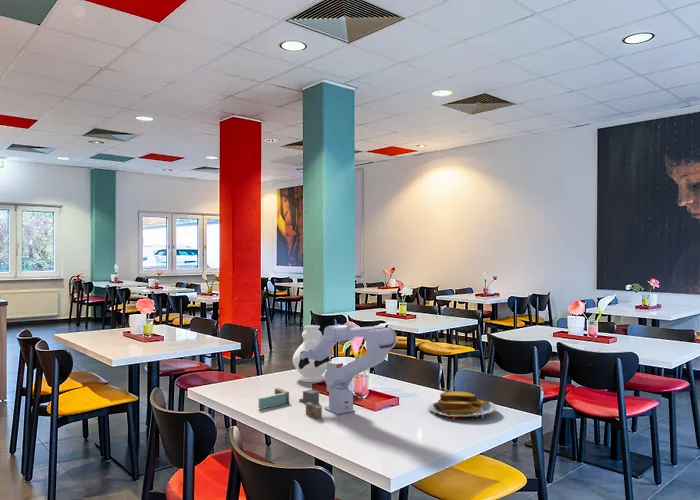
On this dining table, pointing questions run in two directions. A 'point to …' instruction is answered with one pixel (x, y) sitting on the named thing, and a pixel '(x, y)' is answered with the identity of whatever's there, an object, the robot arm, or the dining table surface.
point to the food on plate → (461, 405)
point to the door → (273, 400)
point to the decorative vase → (309, 370)
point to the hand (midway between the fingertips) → (307, 366)
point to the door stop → (310, 397)
